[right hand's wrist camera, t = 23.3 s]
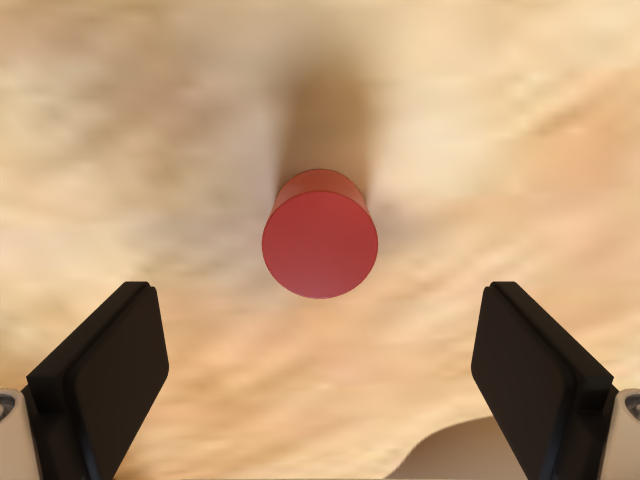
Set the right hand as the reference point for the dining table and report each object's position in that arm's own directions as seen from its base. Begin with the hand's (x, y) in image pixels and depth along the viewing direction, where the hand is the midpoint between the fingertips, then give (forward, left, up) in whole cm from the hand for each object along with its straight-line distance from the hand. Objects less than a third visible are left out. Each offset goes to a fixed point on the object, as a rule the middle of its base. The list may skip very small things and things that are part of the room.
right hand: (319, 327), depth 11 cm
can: (0, 0, -11) cm, 11 cm away
